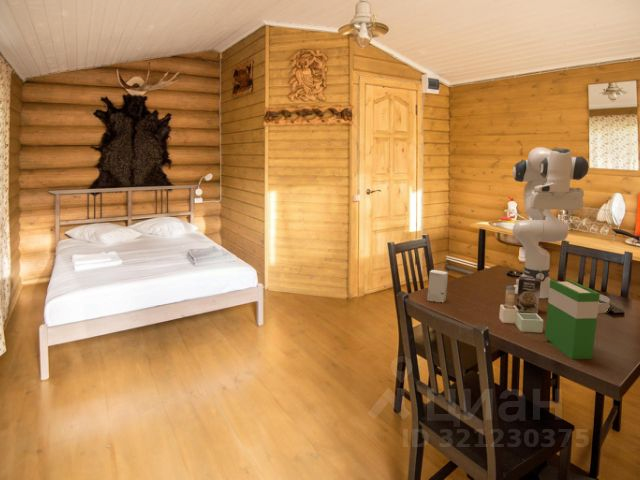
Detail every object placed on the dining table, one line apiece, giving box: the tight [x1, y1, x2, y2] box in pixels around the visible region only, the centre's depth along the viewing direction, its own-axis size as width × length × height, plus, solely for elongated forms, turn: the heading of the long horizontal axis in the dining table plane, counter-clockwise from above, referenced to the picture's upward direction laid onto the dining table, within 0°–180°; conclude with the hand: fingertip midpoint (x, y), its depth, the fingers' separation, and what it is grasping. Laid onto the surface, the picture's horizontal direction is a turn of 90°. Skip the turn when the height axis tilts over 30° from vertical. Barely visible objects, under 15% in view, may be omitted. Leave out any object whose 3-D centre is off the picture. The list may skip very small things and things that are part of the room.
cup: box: [498, 304, 519, 324], centre depth 190 cm, size 6×6×7 cm
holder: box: [515, 312, 545, 334], centre depth 181 cm, size 8×8×6 cm
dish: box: [597, 293, 611, 314], centre depth 212 cm, size 22×22×5 cm
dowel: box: [504, 285, 516, 309], centre depth 189 cm, size 4×4×15 cm
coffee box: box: [515, 275, 541, 315], centre depth 202 cm, size 9×6×16 cm
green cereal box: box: [544, 279, 601, 360], centre depth 163 cm, size 18×7×24 cm, turn 3°
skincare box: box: [426, 269, 449, 304], centre depth 219 cm, size 8×6×15 cm
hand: (554, 220), depth 190 cm, fingers open, 8 cm apart
